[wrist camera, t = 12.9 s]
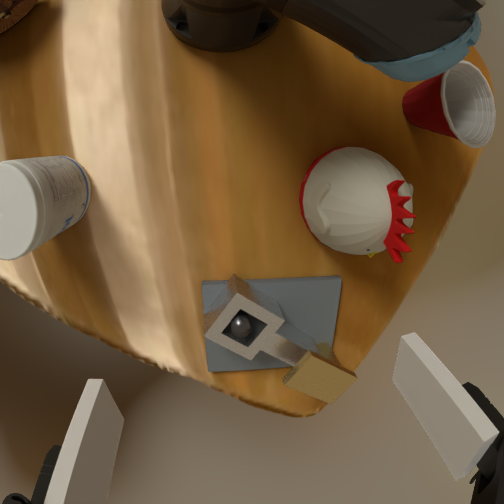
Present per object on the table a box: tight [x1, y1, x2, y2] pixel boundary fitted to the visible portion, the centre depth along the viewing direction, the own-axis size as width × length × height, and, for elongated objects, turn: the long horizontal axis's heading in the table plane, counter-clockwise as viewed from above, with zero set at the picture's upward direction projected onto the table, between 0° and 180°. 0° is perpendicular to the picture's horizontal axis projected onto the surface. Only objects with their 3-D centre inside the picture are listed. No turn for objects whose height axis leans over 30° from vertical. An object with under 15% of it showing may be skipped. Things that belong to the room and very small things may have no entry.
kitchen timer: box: [299, 147, 416, 263], centre depth 34 cm, size 14×14×15 cm
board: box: [202, 276, 342, 372], centre depth 45 cm, size 14×19×1 cm
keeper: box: [283, 342, 357, 404], centre depth 41 cm, size 5×9×9 cm, turn 54°
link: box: [204, 274, 320, 366], centre depth 41 cm, size 15×7×6 cm, turn 54°
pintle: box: [231, 309, 251, 338], centre depth 39 cm, size 2×2×6 cm
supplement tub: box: [0, 156, 91, 260], centre depth 29 cm, size 10×10×15 cm
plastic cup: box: [402, 60, 496, 148], centre depth 32 cm, size 11×11×12 cm
